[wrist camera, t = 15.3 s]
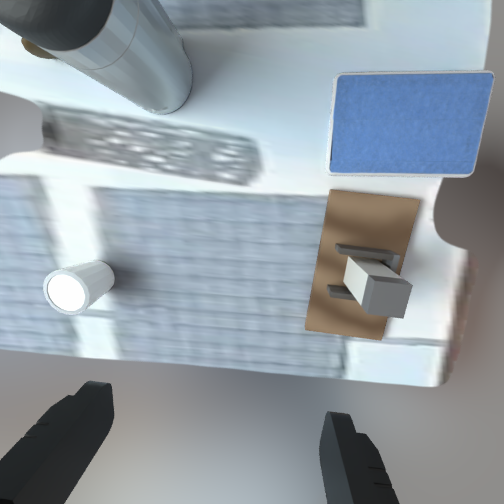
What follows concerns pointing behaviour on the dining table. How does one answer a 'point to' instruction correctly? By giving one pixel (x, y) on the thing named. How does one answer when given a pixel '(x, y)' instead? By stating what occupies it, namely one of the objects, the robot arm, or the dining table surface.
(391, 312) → the plug
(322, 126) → the dining table surface
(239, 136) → the dining table surface
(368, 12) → the dining table surface
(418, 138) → the tablet computer
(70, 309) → the white cup
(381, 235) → the holder
